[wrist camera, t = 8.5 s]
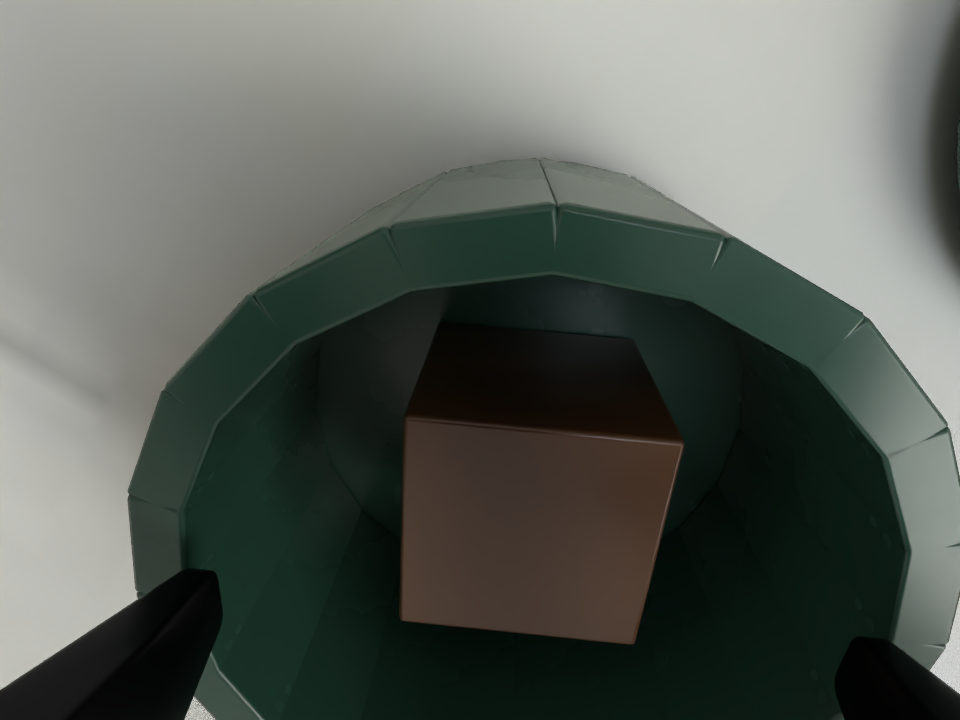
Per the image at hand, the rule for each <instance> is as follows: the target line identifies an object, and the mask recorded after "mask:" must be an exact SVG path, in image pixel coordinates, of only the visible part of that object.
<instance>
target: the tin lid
mask: <svg viewBox="0 0 960 720" xmlns="http://www.w3.org/2000/svg"><path fill="white" fill-rule="evenodd" d="M957 177H958V184H959V191H960V116H959V124H958V131H957Z"/></svg>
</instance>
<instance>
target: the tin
mask: <svg viewBox="0 0 960 720" xmlns="http://www.w3.org/2000/svg"><path fill="white" fill-rule="evenodd" d="M442 322H444V323H455V324H466V325H477V326H488V327H500V328H511V329H522V330H533V331H544V332H555V333H566V334H577V335H589V336H600V337H611V338H622V339H632V340H634V342H635V344H636V346H637V348H638V350H639V352H640V354H641V356H642V358H643V360H644V362H645V364H646V366H647V368H648V370H649V372H650V374H651V376H652V378H653V380H654V382H655V384H656V386H657V388H658V390H659V392H660V394H661V396H662V398H663V400H664V402H665V404H666V406H667V408H668V410H669V412H670V414H671V416H672V418H673V420H674V422H675V424H676V426H677V428H678V430H679V432H680V434H681V436H682V438H683V440H684V443H685V446H684V450H683V454H682V458H681V462H680V465H679V469H678V473H677V477H676V481H675V485H674V489H673V493H672V497H671V501H670V505H669V509H668V513H667V517H666V521H665V525H664V529H663V533H662V537H661V541H660V545H659V549H658V553H657V557H656V561H655V565H654V569H653V573H652V577H651V581H650V585H649V589H648V593H647V597H646V601H645V605H644V609H643V613H642V617H641V621H640V625H639V629H638V633H637V637H636V641H635V643H634V644H632V645H626V644H617V643H607V642H598V641H588V640H578V639H569V638H559V637H550V636H540V635H530V634H521V633H511V632H502V631H492V630H482V629H473V628H463V627H453V626H444V625H434V624H425V623H415V622H405V621H402V620H400V617H399V590H400V545H401V500H402V455H403V417H404V415H405V412H406V409H407V407H408V404H409V401H410V399H411V396H412V393H413V391H414V388H415V385H416V383H417V380H418V377H419V375H420V372H421V369H422V367H423V364H424V361H425V359H426V356H427V353H428V351H429V348H430V345H431V343H432V340H433V337H434V334H435V332H436V329H437V326H438V324H439V323H442ZM947 426H948V425H947V422H946V420H945V419H944V417H943V416H942V415H941V413H940V412H939V411H938V409H937V408H936V407H935V405H934V404H933V403H932V401H931V400H930V399H929V397H928V396H927V395H926V393H925V392H924V391H923V389H922V388H921V387H920V385H919V384H918V383H917V381H916V380H915V379H914V377H913V376H912V375H911V373H910V372H909V371H908V369H907V368H906V367H905V365H904V364H903V363H902V361H901V360H900V359H899V357H898V356H897V355H896V353H895V352H894V351H893V349H892V348H891V347H890V345H889V344H888V343H887V341H886V340H885V339H884V337H883V336H882V335H881V333H880V332H879V331H878V330H877V328H876V327H875V326H874V324H873V323H872V322H871V320H870V319H869V318H867V317H865V316H864V315H863V313H862V312H860V311H859V310H857V309H855V308H854V307H852V306H850V305H849V304H847V303H845V302H844V301H842V300H840V299H839V298H837V297H835V296H833V295H832V294H830V293H828V292H827V291H825V290H823V289H822V288H820V287H818V286H817V285H815V284H813V283H812V282H810V281H808V280H806V279H805V278H803V277H801V276H800V275H798V274H796V273H795V272H793V271H791V270H790V269H788V268H786V267H785V266H783V265H781V264H780V263H778V262H776V261H774V260H773V259H771V258H769V257H768V256H766V255H764V254H763V253H761V252H759V251H758V250H756V249H754V248H753V247H751V246H749V245H747V244H746V243H744V242H742V241H741V240H739V239H737V238H736V237H734V236H732V235H731V234H729V233H727V232H726V231H724V230H722V229H720V228H719V227H717V226H715V225H714V224H712V223H710V222H709V221H707V220H705V219H704V218H702V217H700V216H699V215H697V214H695V213H693V212H692V211H690V210H688V209H687V208H685V207H683V206H682V205H680V204H678V203H677V202H675V201H673V200H672V199H670V198H668V197H666V196H665V195H663V194H661V193H660V192H658V191H656V190H655V189H653V188H651V187H650V186H648V185H646V184H644V183H643V182H641V181H639V180H638V179H636V178H634V177H631V176H630V177H629V176H628V175H626V174H621V173H616V172H611V171H608V170H603V169H599V168H595V167H591V166H587V165H582V164H578V163H573V162H562V161H555V160H550V159H545V158H544V159H536V158H532V159H525V160H507V161H497V162H492V163H486V164H481V165H475V166H470V167H465V168H460V169H453V170H451V171H449V172H448V173H447V172H443V173H441V174H439V175H437V176H435V177H433V178H431V179H429V180H427V181H425V182H423V183H421V184H419V185H417V186H415V187H413V188H411V189H409V190H407V191H405V192H403V193H401V194H399V195H398V196H396V197H394V198H392V199H390V200H388V201H386V202H384V203H382V204H380V205H378V206H376V207H374V208H373V209H371V210H370V211H368V212H367V213H365V214H364V215H362V216H361V217H360V218H358V219H357V220H355V221H354V222H352V223H351V224H349V225H348V226H346V227H345V228H344V229H342V230H341V231H339V232H338V233H336V234H335V235H333V236H332V237H330V238H329V239H328V240H326V241H325V242H323V243H322V244H320V245H319V246H317V247H316V248H314V249H313V250H311V251H310V252H309V253H307V254H306V255H304V256H303V257H301V258H300V259H298V260H297V261H295V262H294V263H293V264H291V265H290V266H288V267H287V268H285V269H284V270H282V271H281V272H279V273H278V274H277V275H275V276H274V277H272V278H271V279H269V280H268V281H266V282H265V283H263V284H262V285H261V286H259V287H258V288H257V289H255V290H254V291H252V292H251V293H249V294H248V295H247V296H246V297H245V298H244V299H243V300H242V301H241V302H240V303H239V304H238V305H237V306H236V308H235V309H234V310H233V311H232V312H231V313H230V314H229V315H228V316H227V317H226V319H225V320H224V321H223V322H222V323H221V324H220V325H219V326H218V327H217V328H216V330H215V331H214V332H213V333H212V334H211V335H210V336H209V337H208V338H207V340H206V341H205V342H204V343H203V344H202V345H201V346H200V347H199V348H198V349H197V351H196V352H195V353H194V354H193V355H192V356H191V357H190V358H189V359H188V360H187V362H186V363H185V364H184V365H183V366H182V367H181V368H180V369H179V370H178V371H177V373H176V374H175V375H174V376H173V377H172V378H171V379H170V380H169V381H168V382H167V384H166V386H165V389H164V390H163V391H161V394H160V397H159V400H158V403H157V406H156V409H155V412H154V415H153V417H152V420H151V423H150V426H149V429H148V432H147V435H146V438H145V441H144V444H143V447H142V450H141V453H140V456H139V459H138V462H137V465H136V468H135V471H134V473H133V476H132V479H131V482H130V485H129V488H128V494H129V496H128V509H129V521H130V533H131V544H132V556H133V568H134V579H135V589H136V591H138V592H137V598H138V599H139V598H141V597H142V596H144V595H145V594H147V593H148V592H150V591H151V590H153V589H154V588H156V587H157V586H159V585H160V584H162V583H163V582H165V581H166V580H168V579H169V578H171V577H172V576H174V575H175V574H177V573H178V572H180V571H182V570H184V569H186V568H197V569H207V570H212V571H214V572H215V573H216V574H217V576H218V580H219V587H220V594H221V601H222V608H223V619H222V624H221V628H220V631H219V633H218V636H217V638H216V641H215V644H214V646H213V649H212V651H211V654H210V656H209V659H208V661H207V664H206V666H205V669H204V671H203V674H202V676H201V679H200V681H199V684H198V686H197V689H196V691H195V694H194V697H195V698H196V699H197V700H198V701H199V702H200V703H201V705H202V706H203V707H204V708H205V709H206V710H207V711H208V712H209V713H210V714H211V715H212V716H213V717H214V718H215V720H844V718H843V715H842V712H841V709H840V706H839V703H838V699H837V696H836V692H835V683H834V681H835V675H836V672H837V670H838V668H839V666H840V664H841V661H842V659H843V657H844V655H845V653H846V651H847V648H848V646H849V644H850V642H851V641H852V640H853V639H854V638H855V637H858V636H864V637H874V638H883V639H886V640H889V641H891V642H893V643H894V644H895V645H897V646H898V647H899V648H901V649H902V650H903V651H904V652H906V653H907V654H908V655H910V656H911V657H912V658H914V659H915V660H916V661H917V662H919V663H920V664H921V665H923V666H924V667H925V668H926V669H928V670H930V669H931V668H932V666H933V665H934V663H935V662H936V661H937V659H938V658H939V656H940V655H941V654H942V652H943V651H944V649H945V647H946V645H945V644H947V643H948V641H949V637H950V633H951V629H952V625H953V621H954V617H955V613H956V609H957V605H958V601H959V597H960V477H959V472H958V467H957V462H956V457H955V452H954V447H953V442H952V438H951V433H950V429H949V428H948V427H947Z"/></svg>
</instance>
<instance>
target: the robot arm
mask: <svg viewBox="0 0 960 720" xmlns="http://www.w3.org/2000/svg"><path fill="white" fill-rule="evenodd" d="M222 619H223V608H222V601H221V594H220V587H219V580H218V576H217V574H216V573H215V572H214V571H212V570H207V569H197V568H186V569H184V570H182V571H180V572H178V573H177V574H175V575H174V576H172V577H171V578H169V579H168V580H166V581H165V582H163V583H162V584H160V585H159V586H157V587H156V588H154V589H153V590H151V591H150V592H148V593H147V594H145V595H144V596H142V597H141V598H139V599H137V600H136V601H134V602H133V603H131V604H130V605H128V606H127V607H125V608H124V609H122V610H121V611H119V612H118V613H116V614H115V615H113V616H112V617H110V618H109V619H107V620H106V621H104V622H103V623H101V624H100V625H98V626H97V627H95V628H94V629H92V630H91V631H89V632H87V633H86V634H84V635H83V636H81V637H80V638H78V639H77V640H75V641H74V642H72V643H71V644H69V645H68V646H66V647H65V648H63V649H62V650H60V651H59V652H57V653H56V654H54V655H53V656H51V657H50V658H48V659H47V660H45V661H44V662H42V663H40V664H39V665H37V666H36V667H34V668H33V669H31V670H30V671H28V672H27V673H25V674H24V675H22V676H21V677H19V678H18V679H16V680H15V681H13V682H12V683H10V684H9V685H7V686H6V687H4V688H3V689H1V690H0V720H184V719H185V716H186V714H187V711H188V709H189V706H190V704H191V701H192V699H193V696H194V694H195V691H196V689H197V686H198V684H199V681H200V679H201V676H202V674H203V671H204V669H205V666H206V664H207V661H208V659H209V656H210V654H211V651H212V649H213V646H214V644H215V641H216V638H217V636H218V633H219V631H220V628H221V624H222ZM834 683H835V692H836V696H837V699H838V703H839V706H840V709H841V712H842V715H843V718H844V720H960V694H959V693H957V692H956V691H955V690H954V689H952V688H951V687H950V686H948V685H947V684H946V683H945V682H943V681H942V680H941V679H939V678H938V677H937V676H935V675H934V674H933V673H932V672H930V671H929V670H928V669H926V668H925V667H924V666H923V665H921V664H920V663H919V662H917V661H916V660H915V659H914V658H912V657H911V656H910V655H908V654H907V653H906V652H904V651H903V650H902V649H901V648H899V647H898V646H897V645H895V644H894V643H893V642H891V641H889V640H886V639H883V638H874V637H864V636H858V637H855V638H854V639H853V640H852V641H851V642H850V644H849V646H848V648H847V651H846V653H845V655H844V657H843V659H842V661H841V664H840V666H839V668H838V670H837V672H836V675H835V681H834Z"/></svg>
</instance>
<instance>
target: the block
mask: <svg viewBox="0 0 960 720" xmlns="http://www.w3.org/2000/svg"><path fill="white" fill-rule="evenodd" d="M684 446H685V443H684V440H683V438H682V436H681V434H680V432H679V430H678V428H677V426H676V424H675V422H674V420H673V418H672V416H671V414H670V412H669V410H668V408H667V406H666V404H665V402H664V400H663V398H662V396H661V394H660V392H659V390H658V388H657V386H656V384H655V382H654V380H653V378H652V376H651V374H650V372H649V370H648V368H647V366H646V364H645V362H644V360H643V358H642V356H641V354H640V352H639V350H638V348H637V346H636V344H635V342H634V340H632V339H622V338H611V337H600V336H589V335H577V334H566V333H555V332H544V331H533V330H522V329H511V328H500V327H488V326H477V325H466V324H455V323H444V322H442V323H439V324H438V326H437V329H436V332H435V334H434V337H433V340H432V343H431V345H430V348H429V351H428V353H427V356H426V359H425V361H424V364H423V367H422V369H421V372H420V375H419V377H418V380H417V383H416V385H415V388H414V391H413V393H412V396H411V399H410V401H409V404H408V407H407V409H406V412H405V415H404V417H403V455H402V500H401V545H400V590H399V617H400V620H402V621H405V622H415V623H425V624H434V625H444V626H453V627H463V628H473V629H482V630H492V631H502V632H511V633H521V634H530V635H540V636H550V637H559V638H569V639H578V640H588V641H598V642H607V643H617V644H626V645H632V644H634V643H635V641H636V637H637V633H638V629H639V625H640V621H641V617H642V613H643V609H644V605H645V601H646V597H647V593H648V589H649V585H650V581H651V577H652V573H653V569H654V565H655V561H656V557H657V553H658V549H659V545H660V541H661V537H662V533H663V529H664V525H665V521H666V517H667V513H668V509H669V505H670V501H671V497H672V493H673V489H674V485H675V481H676V477H677V473H678V469H679V465H680V462H681V458H682V454H683V450H684Z"/></svg>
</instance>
